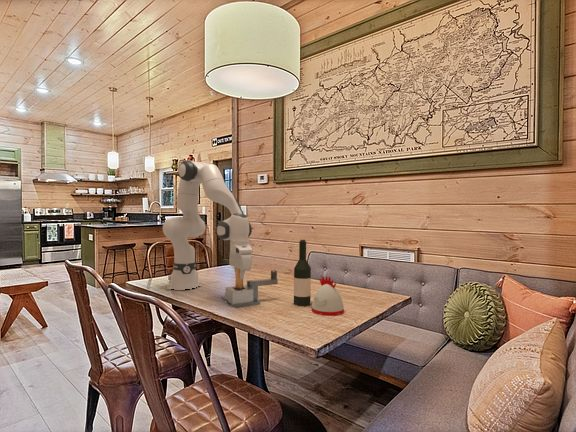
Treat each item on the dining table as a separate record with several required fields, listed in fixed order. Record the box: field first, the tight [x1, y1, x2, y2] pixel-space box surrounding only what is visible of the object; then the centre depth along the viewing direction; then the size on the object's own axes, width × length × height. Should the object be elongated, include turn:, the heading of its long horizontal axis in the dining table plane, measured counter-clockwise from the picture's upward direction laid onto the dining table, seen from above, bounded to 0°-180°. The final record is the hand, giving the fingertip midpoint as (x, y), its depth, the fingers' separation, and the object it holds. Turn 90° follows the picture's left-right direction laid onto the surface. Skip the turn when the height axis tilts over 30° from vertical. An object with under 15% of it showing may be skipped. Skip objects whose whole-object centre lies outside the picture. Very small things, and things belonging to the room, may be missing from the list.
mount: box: [220, 279, 261, 308], centre depth 164 cm, size 18×13×10 cm
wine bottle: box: [293, 239, 312, 307], centre depth 160 cm, size 8×8×30 cm
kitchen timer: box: [311, 276, 345, 317], centre depth 149 cm, size 14×14×15 cm
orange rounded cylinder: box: [234, 267, 244, 288], centre depth 160 cm, size 4×4×10 cm
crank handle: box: [248, 269, 279, 287], centre depth 166 cm, size 3×14×6 cm, turn 118°
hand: (239, 277), depth 160 cm, fingers closed on orange rounded cylinder, 4 cm apart
